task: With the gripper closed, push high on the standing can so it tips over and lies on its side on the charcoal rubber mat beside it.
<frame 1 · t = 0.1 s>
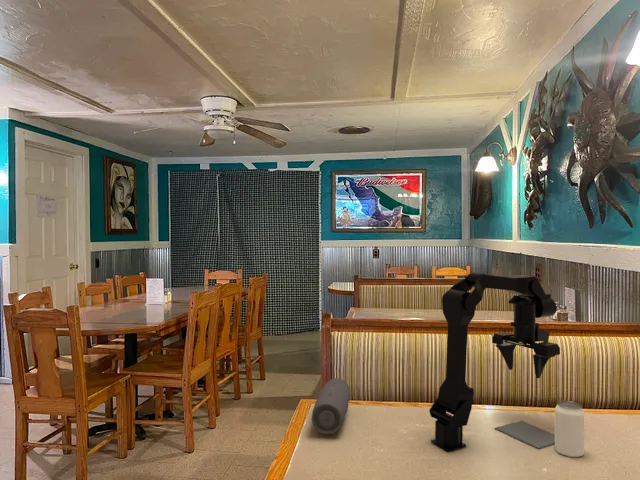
hand: (524, 373, 135), 15 cm above the table, tool pointing down, fingers open, 9 cm apart
bluetooth speaker: (332, 423, 137), on the table
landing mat: (529, 434, 129), on the table
can: (569, 452, 118), on the table
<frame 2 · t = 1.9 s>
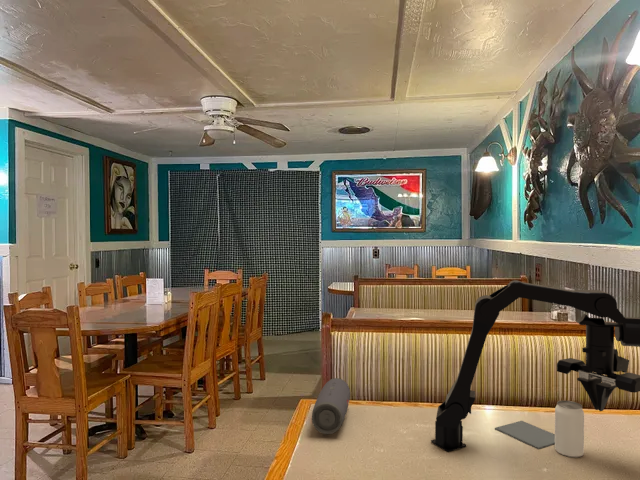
hand: (599, 410, 112), 13 cm above the table, tool pointing down, fingers closed
nothing on the table moved.
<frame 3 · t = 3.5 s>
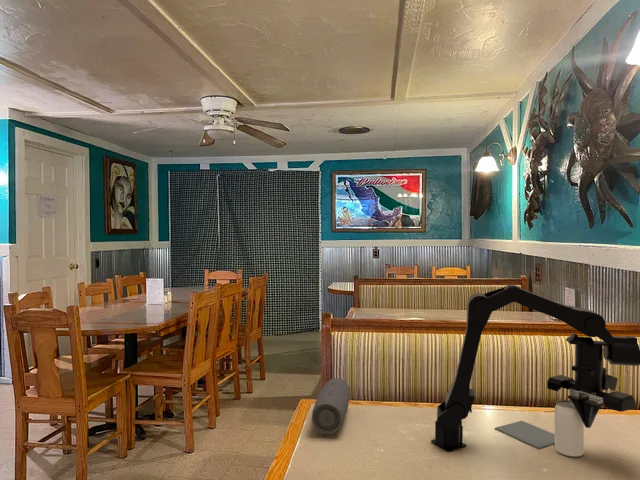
hand: (588, 427, 114), 8 cm above the table, tool pointing down, fingers closed
can: (569, 452, 118), on the table, touching gripper
everything else where it was.
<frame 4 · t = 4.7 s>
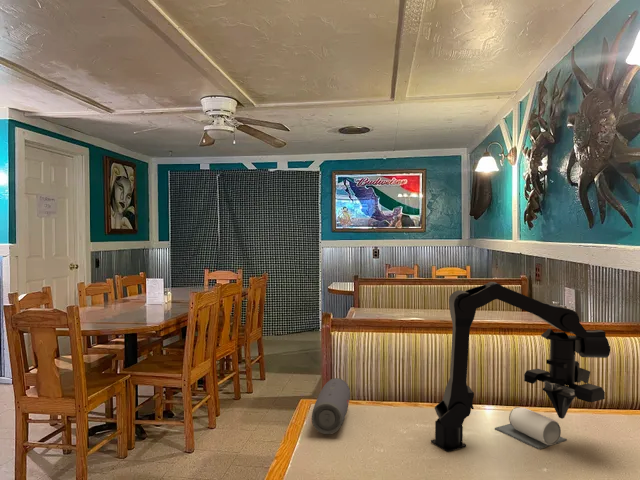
hand: (561, 417, 120), 8 cm above the table, tool pointing down, fingers closed
can: (553, 433, 120), point 4 cm above the table, touching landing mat
everything else where it was.
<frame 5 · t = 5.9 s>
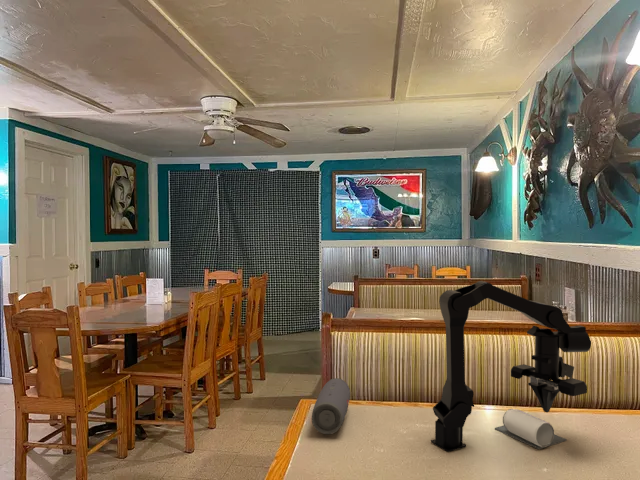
hand: (546, 411, 124), 8 cm above the table, tool pointing down, fingers closed
can: (546, 435, 120), point 4 cm above the table, touching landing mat
everything else where it was.
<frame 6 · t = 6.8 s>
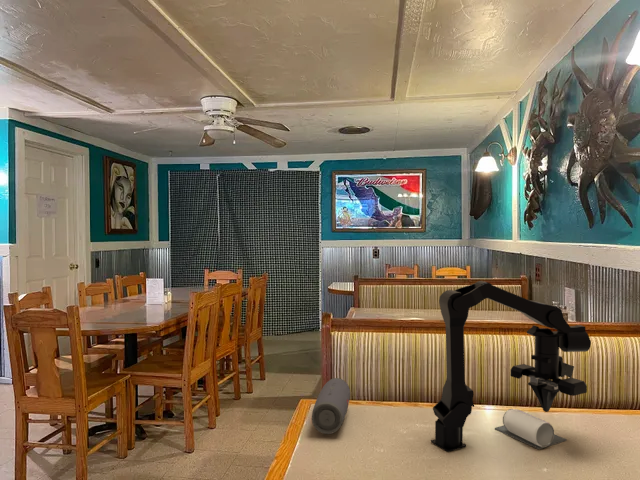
hand: (546, 411, 124), 8 cm above the table, tool pointing down, fingers closed
nothing on the table moved.
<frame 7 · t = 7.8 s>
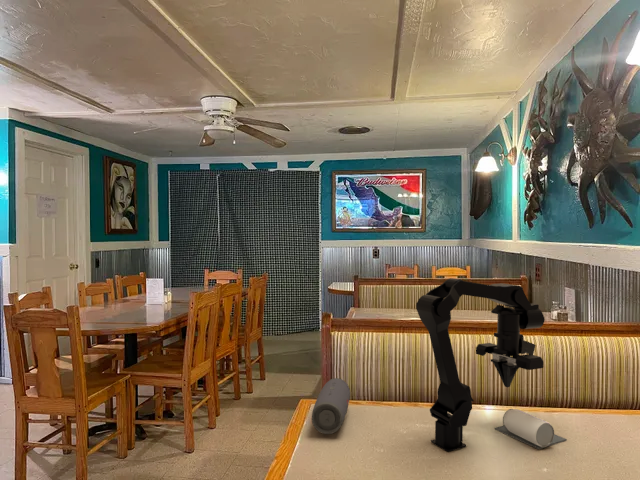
hand: (507, 386, 130), 13 cm above the table, tool pointing down, fingers closed
nothing on the table moved.
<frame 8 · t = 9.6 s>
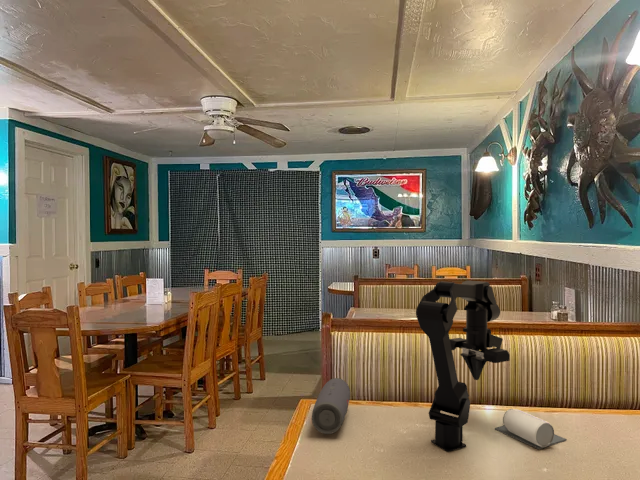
hand: (476, 379, 135), 13 cm above the table, tool pointing down, fingers closed
nothing on the table moved.
at the end: can tilted 92°; can touching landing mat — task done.
